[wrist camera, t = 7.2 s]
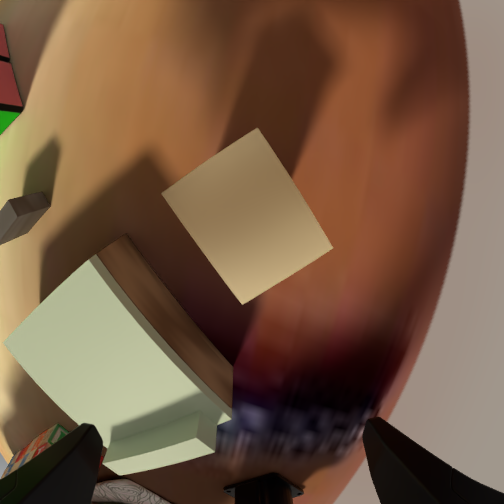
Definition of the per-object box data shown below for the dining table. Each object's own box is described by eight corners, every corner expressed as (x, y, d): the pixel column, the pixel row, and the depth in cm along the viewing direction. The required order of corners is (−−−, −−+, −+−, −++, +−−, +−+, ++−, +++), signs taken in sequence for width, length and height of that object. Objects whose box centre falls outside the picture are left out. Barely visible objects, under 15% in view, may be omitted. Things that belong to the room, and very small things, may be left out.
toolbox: (233, 366, 19) (231, 408, 15) (133, 412, 21) (120, 447, 17) (75, 155, 15) (37, 157, 11) (-2, 247, 16) (-36, 263, 12)
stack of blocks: (45, 479, 26) (21, 534, 15) (13, 454, 25) (-16, 508, 13) (105, 456, 23) (74, 546, 11) (57, 420, 22) (11, 509, 10)
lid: (231, 409, 15) (231, 446, 13) (120, 448, 17) (110, 476, 14) (95, 253, 13) (66, 275, 10) (9, 336, 14) (-14, 359, 11)
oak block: (287, 205, 16) (333, 248, 8) (241, 234, 17) (242, 304, 9) (249, 146, 15) (257, 127, 7) (202, 178, 16) (161, 193, 8)
